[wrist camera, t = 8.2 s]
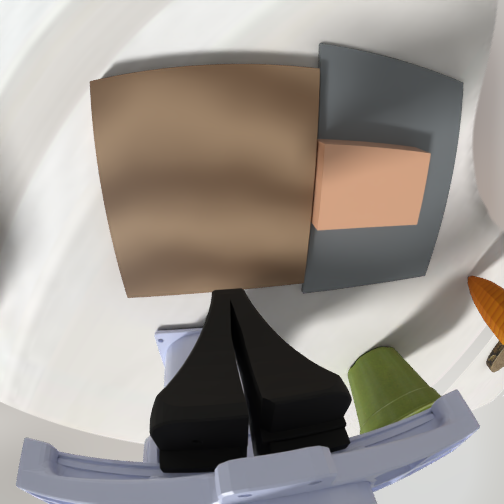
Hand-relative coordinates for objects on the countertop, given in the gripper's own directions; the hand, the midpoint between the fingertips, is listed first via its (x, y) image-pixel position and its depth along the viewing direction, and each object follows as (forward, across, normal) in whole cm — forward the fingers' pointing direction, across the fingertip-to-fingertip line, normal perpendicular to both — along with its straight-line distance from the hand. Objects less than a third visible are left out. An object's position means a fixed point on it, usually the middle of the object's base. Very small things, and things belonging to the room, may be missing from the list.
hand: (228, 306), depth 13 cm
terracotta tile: (+9, -11, -3) cm, 15 cm away
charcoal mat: (+9, -14, -3) cm, 17 cm away
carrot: (+10, -31, +8) cm, 33 cm away
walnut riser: (+9, 0, -3) cm, 10 cm away
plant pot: (+10, -19, +21) cm, 30 cm away
